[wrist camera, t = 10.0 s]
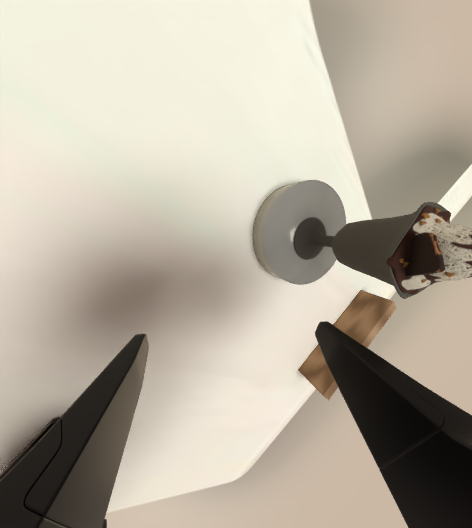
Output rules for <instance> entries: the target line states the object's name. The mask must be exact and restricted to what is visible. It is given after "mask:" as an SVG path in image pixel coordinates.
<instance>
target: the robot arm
mask: <svg viewBox="0 0 472 528" xmlns="http://www.w3.org/2000/svg"><path fill="white" fill-rule="evenodd" d="M315 335H316V338H317V341H318V343H319V346H320V349H321V351H322V354H323V356H324V359H325V361H326V363H327V366H328V368H329V370H330V372H331V374H332V376H333V378H334V380H335V382H336V384H337V386H338V387H339V390H340V392H341V394H342V395H343V397H344V400H345V402H346V403H347V406H348V408H349V410H350V412H351V414H352V415H353V418H354V420H355V422H356V423H357V426H358V427H359V430H360V432H361V434H362V436H363V438H364V439H365V442H366V444H367V446H368V447H369V449H370V451H371V453H372V455H373V457H374V459H375V461H376V463H377V465H378V467H379V468H380V469H379V470H380V472H381V473H382V476H383V478H384V480H385V482H386V484H387V486H388V488H389V490H390V492H391V494H392V495H393V498H394V499H395V501H396V503H397V506H398V508H399V510H400V511H401V514H402V516H403V517H404V520H405V522H406V524H407V526H408V528H472V415H470V414H468V413H467V412H465V411H463V410H462V409H460V408H458V407H457V406H455V405H454V404H452V403H450V402H449V401H447V400H445V399H444V398H442V397H441V396H439V395H437V394H436V393H434V392H432V391H431V390H429V389H428V388H426V387H424V386H423V385H421V384H420V383H418V382H417V381H415V380H414V379H412V378H411V377H409V376H408V375H406V374H405V373H403V372H401V371H400V370H399V369H397V368H396V367H394V366H393V365H391V364H390V363H388V362H387V361H386V360H384V359H383V358H381V357H380V356H378V355H377V354H375V353H374V352H372V351H371V350H369V349H368V348H366V347H365V346H363V345H362V344H360V343H359V342H357V341H356V340H354V339H353V338H351V337H350V336H348V335H347V334H345V333H344V332H342V331H341V330H339V329H338V328H337V327H335V326H334V325H332V324H331V323H329V322H326V321H325V322H320V323H319V325H318V327H317V329H316V331H315ZM148 348H149V346H148V341H147V336H146V334H137V335H135V336H134V337H133V338H132V339H131V340H130V342H129V343H128V344H127V345H126V346H125V347H124V348H123V349H122V350H121V351H120V353H119V354H118V355H117V356H116V357H115V358H114V359H113V360H112V361H111V362H110V364H109V365H108V366H107V367H106V368H105V369H104V370H103V371H102V372H101V374H100V375H99V376H98V377H97V378H96V379H95V380H94V381H93V382H92V383H91V385H90V386H89V387H88V388H87V389H86V390H85V391H84V392H83V393H82V394H81V396H80V397H79V398H78V399H77V400H76V401H75V402H74V403H73V404H72V406H71V407H70V408H69V409H68V410H67V411H66V412H65V413H64V414H63V415H62V417H61V419H54V420H52V421H51V422H50V423H49V424H48V425H47V426H46V427H45V428H44V429H43V430H42V431H41V432H40V433H39V434H38V435H37V436H36V437H35V438H34V440H33V441H32V442H31V443H30V444H29V445H28V446H27V447H26V448H25V449H24V450H23V451H22V452H21V453H20V454H19V455H18V456H17V457H16V458H15V459H14V460H13V461H12V462H11V464H10V465H9V466H8V467H7V468H6V469H5V470H4V471H3V472H2V473H1V474H0V528H106V527H107V523H106V522H107V521H106V519H104V518H105V515H106V511H107V508H108V504H109V501H110V497H111V494H112V490H113V487H114V483H115V480H116V476H117V473H118V469H119V466H120V462H121V458H122V455H123V451H124V448H125V444H126V441H127V437H128V434H129V430H130V427H131V423H132V420H133V416H134V413H135V409H136V406H137V402H138V399H139V395H140V392H141V388H142V383H143V378H144V372H145V367H146V361H147V355H148Z"/></svg>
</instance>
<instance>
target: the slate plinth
mask: <svg viewBox="0 0 472 528" xmlns="http://www.w3.org/2000/svg"><path fill="white" fill-rule="evenodd" d="M310 217H315V218H318V219H319V220H321V221H322V223H323V224H324V226H325V229H326V235H327V236H335V235H336V234H337V232H338V231H339V230H341V229H342V228H343V227H344V226H345V225H346V217H345V211H344V207H343V204H342V201H341V199H340V197H339V195H338V194H337V193H336V191H335V190H334V189H333V188H332V187H331V186H329V185H328V184H326V183H324V182H321V181H318V180H307V181H303V182H299V183H295V184H291V185H287V186H284V187H281V188H279V189H277V190H276V191H274V192H273V193H272V194H271V195H270V196H269V197H268V198H267V199H266V200H265V201H264V203H263V204H262V206H261V207H260V209H259V211H258V214H257V216H256V219H255V223H254V229H253V244H254V250H255V253H256V256H257V258H258V260H259V262H260V264H261V265H262V266H263V267H264V268H265V269H266V270H267V271H268V272H269V273H271V274H273V275H275V276H277V277H279V278H281V279H283V280H285V281H288V282H290V283H293V284H299V285H301V284H308V283H311V282H314V281H316V280H318V279H319V278H321V277H322V276H323V275H324V274H326V273H327V272H328V271H329V270H330V268H331V267H332V266H333V264H334V263H335V261H336V260H337V258H336V257H335V255H334V253H333V250H332V248H331V247H323V249H322V250H321V252H320V253H319V254H318V255H317V256H316V257H315V258H313V259H309V260H305V259H302V258H300V257H299V256H298V255H297V253H296V251H295V248H294V236H295V232H296V230H297V228H298V226H299V225H300V224H301V222H303V221H304V220H305V219H307V218H310Z"/></svg>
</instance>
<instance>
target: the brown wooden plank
mask: <svg viewBox="0 0 472 528" xmlns="http://www.w3.org/2000/svg"><path fill="white" fill-rule="evenodd" d="M395 309H396V306H395V304H394V302H393V301H391V300H388V299H385V298H382V297H379V296H376V295H374V294H371V293H368V292H365V291H362V290H361V291H360V292H359V293H358V295H357V296H356V297H355V299H354V300H353V301H352V302H351V304H350V305H349V306H348V308H347V309H346V310H345V311H344V313H343V314H342V315H341V316H340V318H339V319H338V320H337V322H336V323H335V324H334V326H335V327H337V328H338V329H339V330H341V331H342V332H344V333H345V334H347V335H348V336H350V337H351V338H353V339H354V340H356V341H357V342H359V343H360V344H362V345H363V346H365V347H366V348H367V347H368V346H369V345H370V343H371V341H372V340H373V339H374V338H375V336H376V335H377V334H378V332H379V331H380V330H381V328H382V327H383V326H384V324H385V323H386V322H387V320H388V319H389V317H390V316H391V315H392V313H393V312H394V311H395ZM299 371H300V372H301V373H302V374H303V375H304V376H305V377H306V379H307V380H308V381H309V382H310V383H311V384H312V385H313V386H314V387H315V388H316V389H317V390H318V391H319V392H320V393H321V394H322V395H323V396H324V397H325V398H327V399H328V400H329V399H330V397H331V396H332V395H333V393H334V392H335V391H336V389H337V388H338V386H337V384H336V382H335V380H334V378H333V376H332V374H331V372H330V370H329V368H328V366H327V363H326V361H325V359H324V356H323V354H322V351H321V349H320V346H319V344H318V346H317V347H316V348H315V350H314V351H313V352H312V353H311V355H310V356H309V357H308V359H307V360H306V361H305V362H304V364H303V365H302V366H301V367H300V369H299Z"/></svg>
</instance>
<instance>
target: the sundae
mask: <svg viewBox="0 0 472 528" xmlns="http://www.w3.org/2000/svg"><path fill="white" fill-rule="evenodd" d="M450 216H451V213H450V212H449V211H447V210H446V209H445V208H444V207H442V206H441V205H439V204H437V203H433V202H427V203H424V204H422V205H421V206H420V207H419V208H418V210H417V211H416V212H414V213H412V214H409V215H404V216H399V217H393V218H385V219H375V220H365V221H359V222H354V223H349V224H347V225H345V226H344V227H343V228H342V229H341V230H339V231H338V232H337V234H336V235H335V236H327V235H326V229H325V226H324V224H323V223H322V221H321V220H319V219H318V218H315V217H310V218H307V219H305V220H304V221H303V222H301V224H300V225H299V226H298V228H297V230H296V232H295V236H294V248H295V251H296V253H297V255H298V256H299V257H300V258H302V259H305V260H309V259H313V258H315V257H316V256H317V255H318V254H319V253H320V252H321V250H322V249H323V247H331V248H332V250H333V253H334V255H335V257H336V258H337V260H338V261H339V262H340V263H342V264H344V265H346V266H348V267H350V268H352V269H354V270H357V271H359V272H362V273H364V274H367V275H370V276H372V277H375V278H377V279H379V280H382V281H384V282H386V283H388V284H391V285H393V286H394V287H395V289H396V290H397V292H398V294H399V295H400V297H402V298H404V299H406V298H408V297H410V296H412V295H415V294H417V293H419V292H421V291H422V290H424V289H425V288H426V287H428V286H429V285H431V284H433V283H435V282H441V281H449V280H461V279H465V278H469V277H472V229H471V228H467V227H464V226H460V225H455V224H450Z"/></svg>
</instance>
